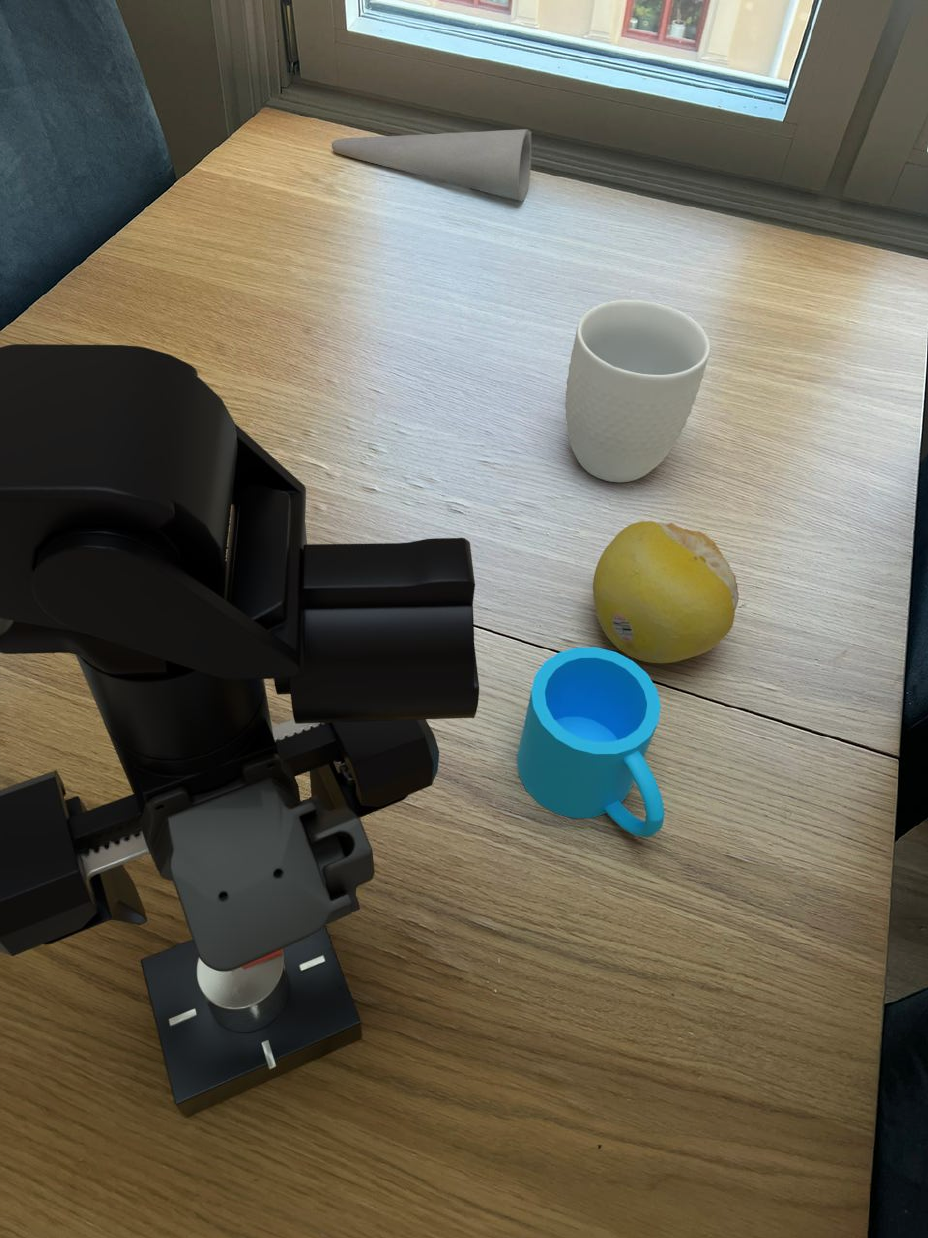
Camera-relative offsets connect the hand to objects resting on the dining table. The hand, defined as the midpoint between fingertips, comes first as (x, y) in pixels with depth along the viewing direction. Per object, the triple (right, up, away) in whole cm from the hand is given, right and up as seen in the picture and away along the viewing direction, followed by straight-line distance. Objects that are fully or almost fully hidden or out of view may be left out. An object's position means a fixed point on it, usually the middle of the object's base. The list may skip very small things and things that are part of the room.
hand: (236, 875), depth 45 cm
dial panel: (-1, -10, +8) cm, 12 cm away
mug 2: (+20, +1, +18) cm, 27 cm away
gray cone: (+6, +68, +72) cm, 99 cm away
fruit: (+26, +11, +27) cm, 39 cm away
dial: (-1, -8, +5) cm, 9 cm away
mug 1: (+25, +28, +41) cm, 55 cm away
